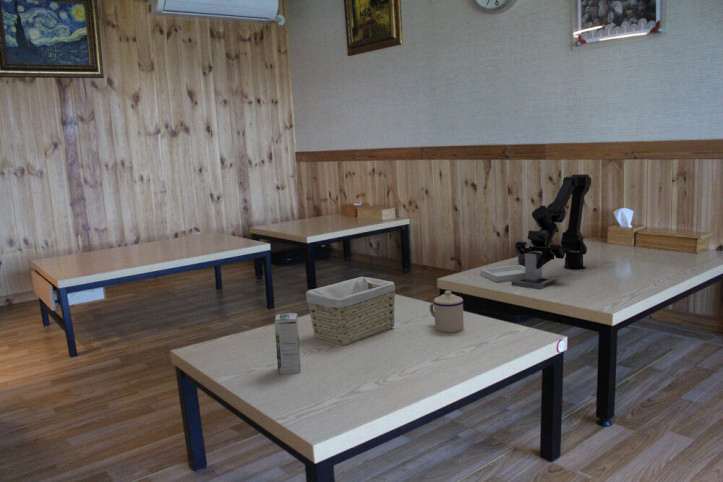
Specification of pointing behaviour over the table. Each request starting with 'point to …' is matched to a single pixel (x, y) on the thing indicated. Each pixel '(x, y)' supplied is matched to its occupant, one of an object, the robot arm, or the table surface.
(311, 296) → the storage basket
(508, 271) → the parts tray
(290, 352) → the syrup box
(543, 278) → the dark grey square frame
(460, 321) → the teacup with lid
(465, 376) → the table surface
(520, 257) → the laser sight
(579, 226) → the robot arm
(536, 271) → the grey rectangular block
